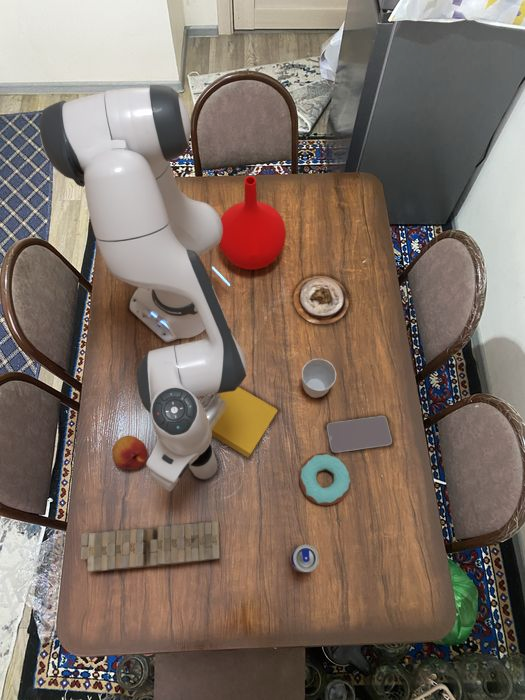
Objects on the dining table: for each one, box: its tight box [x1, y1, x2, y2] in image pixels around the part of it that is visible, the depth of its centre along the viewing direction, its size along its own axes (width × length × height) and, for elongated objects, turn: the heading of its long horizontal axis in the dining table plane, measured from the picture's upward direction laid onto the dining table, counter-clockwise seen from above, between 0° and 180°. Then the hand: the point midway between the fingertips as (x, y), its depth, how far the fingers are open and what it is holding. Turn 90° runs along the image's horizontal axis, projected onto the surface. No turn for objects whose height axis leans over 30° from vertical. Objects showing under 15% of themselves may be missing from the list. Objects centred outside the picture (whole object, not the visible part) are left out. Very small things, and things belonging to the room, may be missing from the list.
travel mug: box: [188, 443, 219, 480], centre depth 115 cm, size 6×7×20 cm
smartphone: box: [326, 415, 393, 454], centre depth 126 cm, size 7×1×15 cm
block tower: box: [80, 520, 221, 572], centre depth 113 cm, size 8×8×29 cm
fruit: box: [111, 435, 149, 470], centre depth 121 cm, size 8×8×8 cm
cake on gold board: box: [293, 275, 349, 325], centre depth 140 cm, size 15×15×4 cm
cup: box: [301, 358, 337, 398], centre depth 127 cm, size 8×8×10 cm
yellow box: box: [212, 386, 279, 459], centre depth 128 cm, size 16×14×1 cm
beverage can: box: [289, 544, 320, 573], centre depth 109 cm, size 5×5×15 cm
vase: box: [218, 175, 287, 270], centre depth 134 cm, size 18×18×30 cm
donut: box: [298, 452, 352, 506], centre depth 121 cm, size 12×12×4 cm
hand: (195, 448), depth 107 cm, fingers open, 8 cm apart
